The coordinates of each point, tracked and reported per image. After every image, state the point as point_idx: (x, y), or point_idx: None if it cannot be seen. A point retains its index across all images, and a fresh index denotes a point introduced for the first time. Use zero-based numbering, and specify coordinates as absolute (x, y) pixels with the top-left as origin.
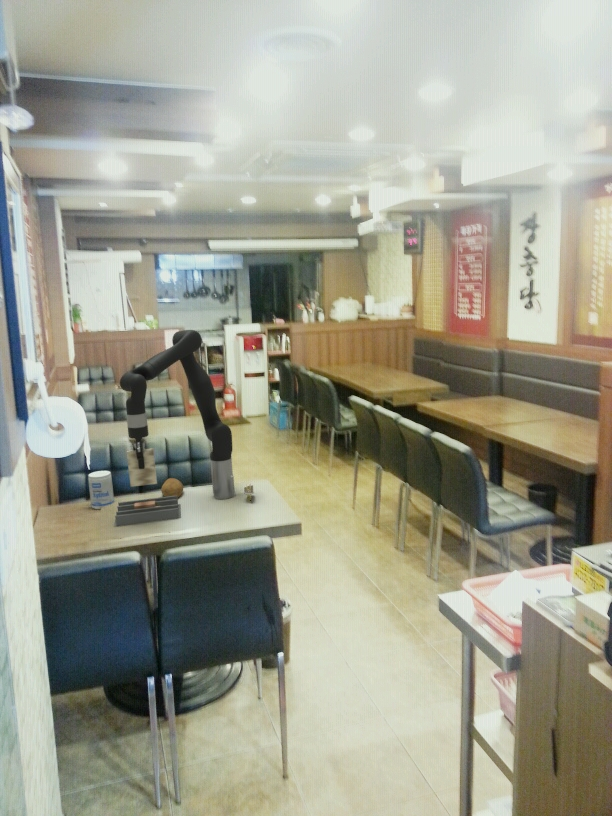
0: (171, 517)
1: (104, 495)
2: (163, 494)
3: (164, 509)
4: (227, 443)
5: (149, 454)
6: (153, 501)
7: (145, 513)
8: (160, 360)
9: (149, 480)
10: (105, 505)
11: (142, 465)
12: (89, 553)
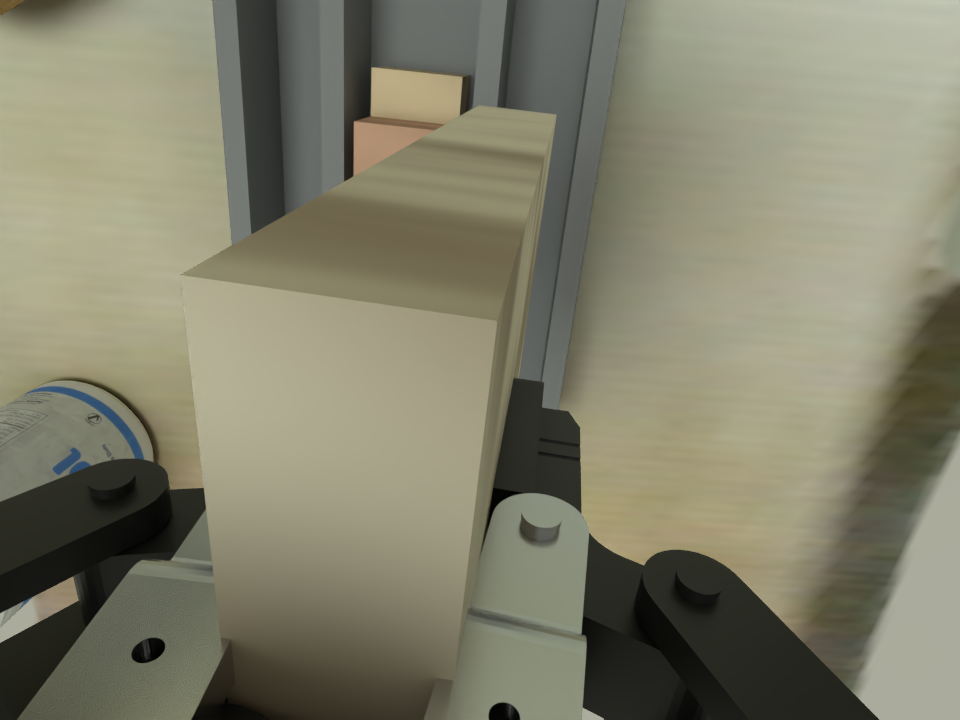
0: None
1: None
2: (16, 4)
3: (506, 37)
4: None
5: (498, 394)
6: (371, 137)
7: (587, 228)
8: None
9: (538, 233)
10: (137, 439)
11: (575, 454)
12: (850, 553)
